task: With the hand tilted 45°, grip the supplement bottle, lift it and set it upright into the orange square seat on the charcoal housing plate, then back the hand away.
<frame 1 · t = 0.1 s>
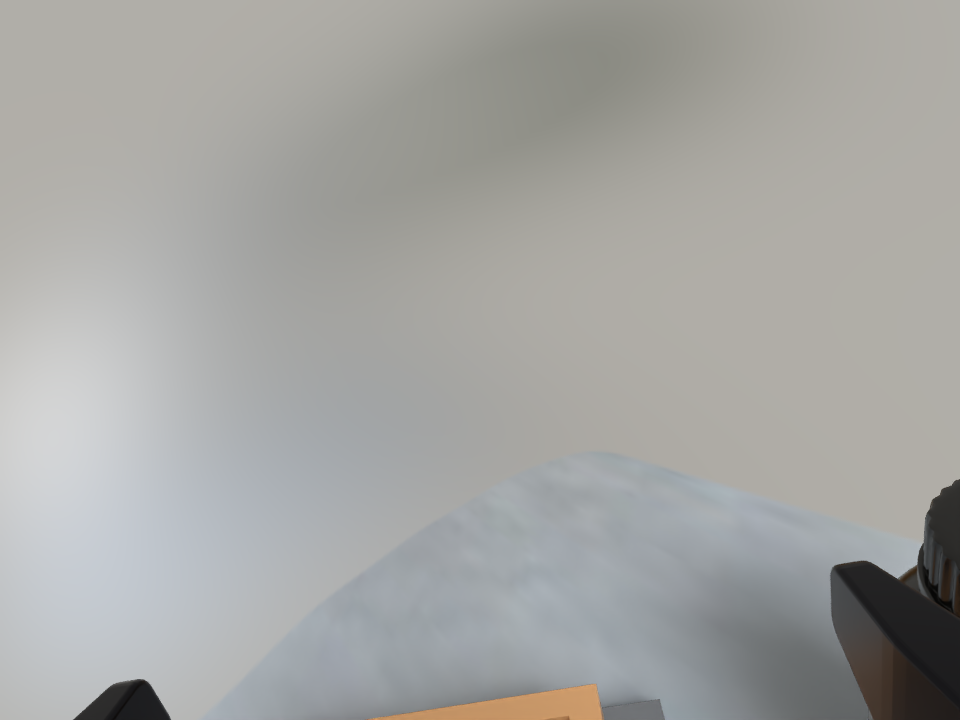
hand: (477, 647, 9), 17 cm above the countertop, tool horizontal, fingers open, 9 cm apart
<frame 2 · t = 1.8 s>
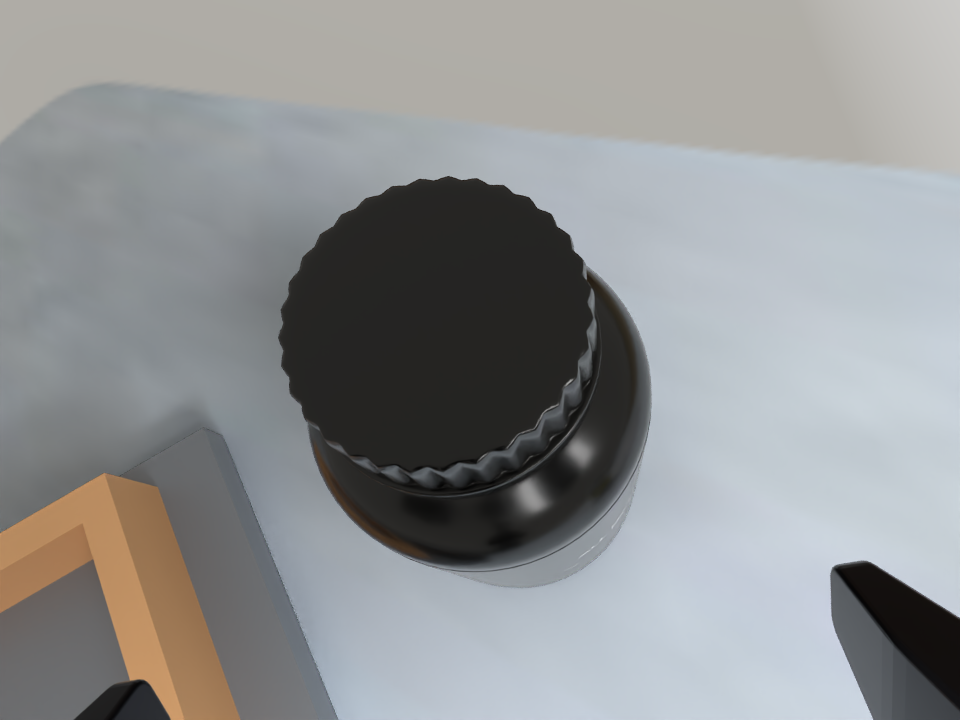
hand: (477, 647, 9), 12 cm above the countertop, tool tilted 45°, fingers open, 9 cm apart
supplement bottle: (522, 470, 22), on the countertop
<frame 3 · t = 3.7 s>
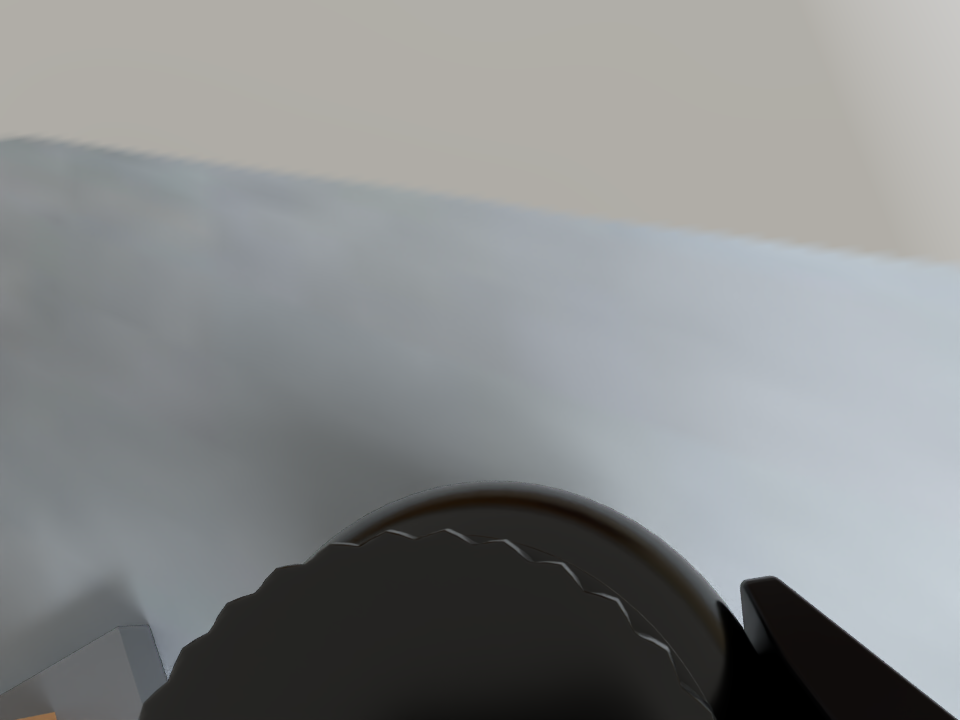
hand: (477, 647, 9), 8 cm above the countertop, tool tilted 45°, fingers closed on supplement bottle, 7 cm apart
supplement bottle: (546, 693, 16), on the countertop, touching gripper
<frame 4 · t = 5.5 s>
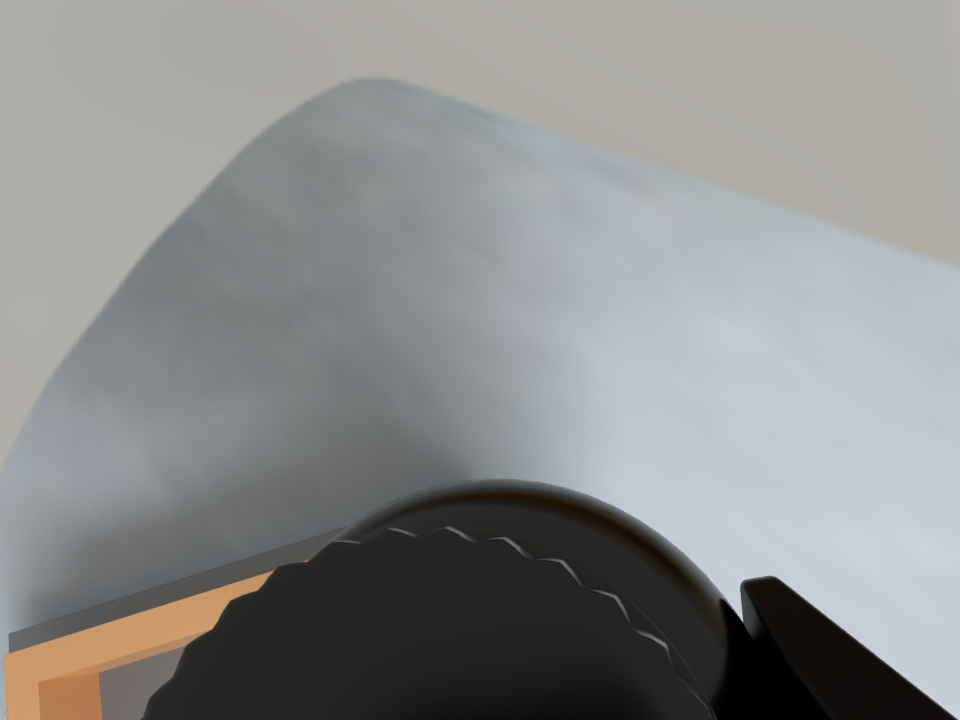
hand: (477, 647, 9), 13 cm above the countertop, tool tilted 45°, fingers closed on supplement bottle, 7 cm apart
supplement bottle: (551, 689, 16), point 5 cm above the countertop, touching gripper
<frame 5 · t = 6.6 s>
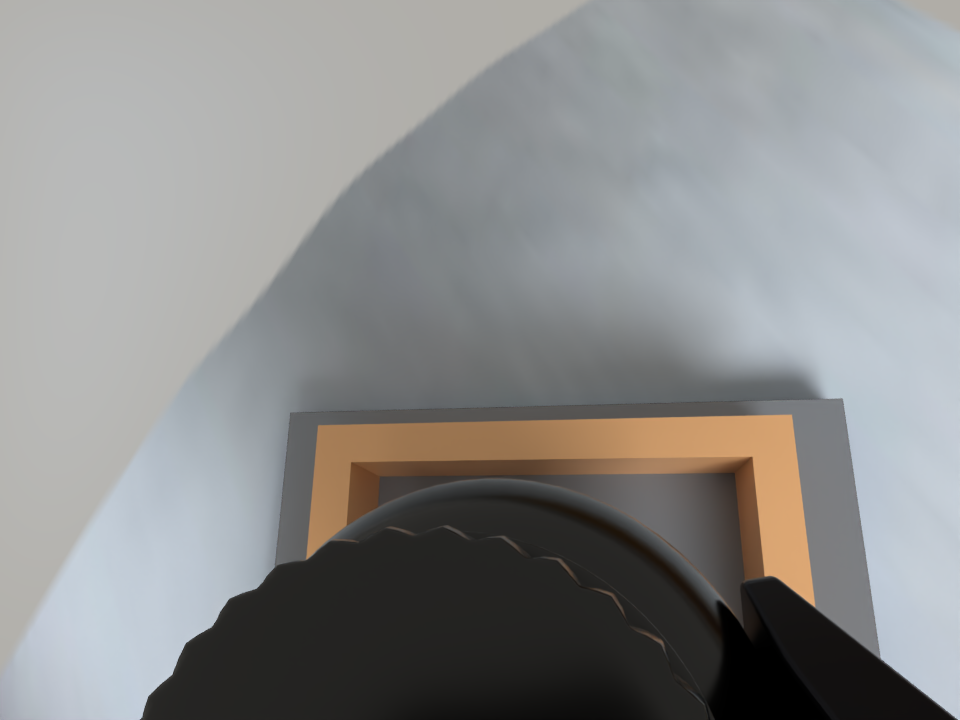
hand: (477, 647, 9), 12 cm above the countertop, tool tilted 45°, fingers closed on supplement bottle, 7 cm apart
supplement bottle: (548, 688, 16), point 4 cm above the countertop, touching gripper
when the fingers open (10 cm above the countertop, at t = 7.4 s): supplement bottle drops 1 cm, resting on housing.
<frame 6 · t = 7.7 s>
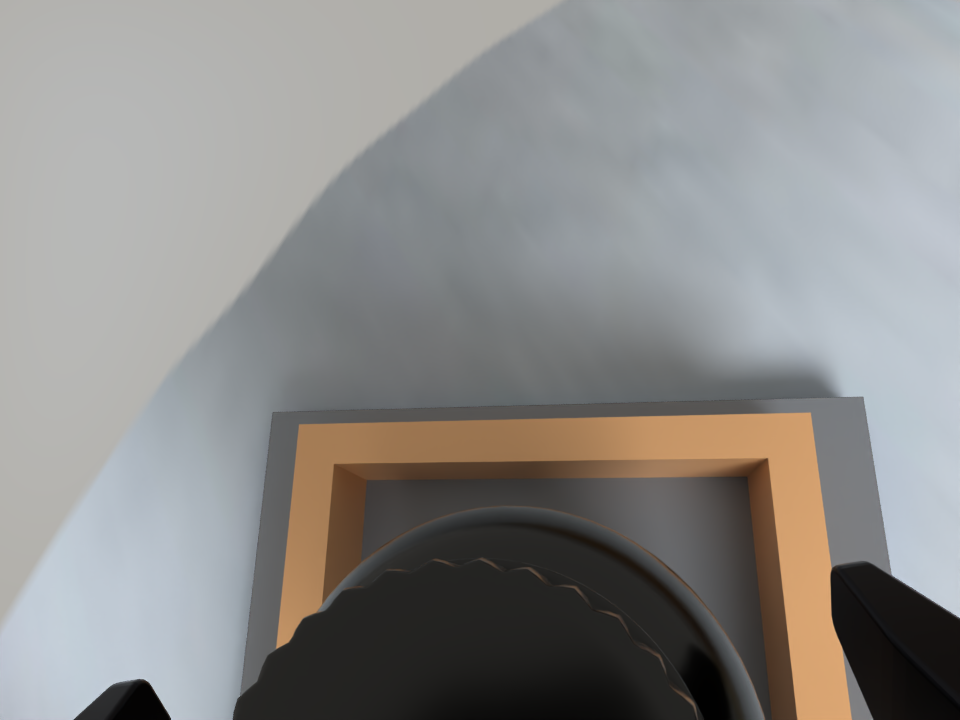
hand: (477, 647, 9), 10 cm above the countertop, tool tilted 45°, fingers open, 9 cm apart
supplement bottle: (553, 691, 17), point 1 cm above the countertop, touching housing
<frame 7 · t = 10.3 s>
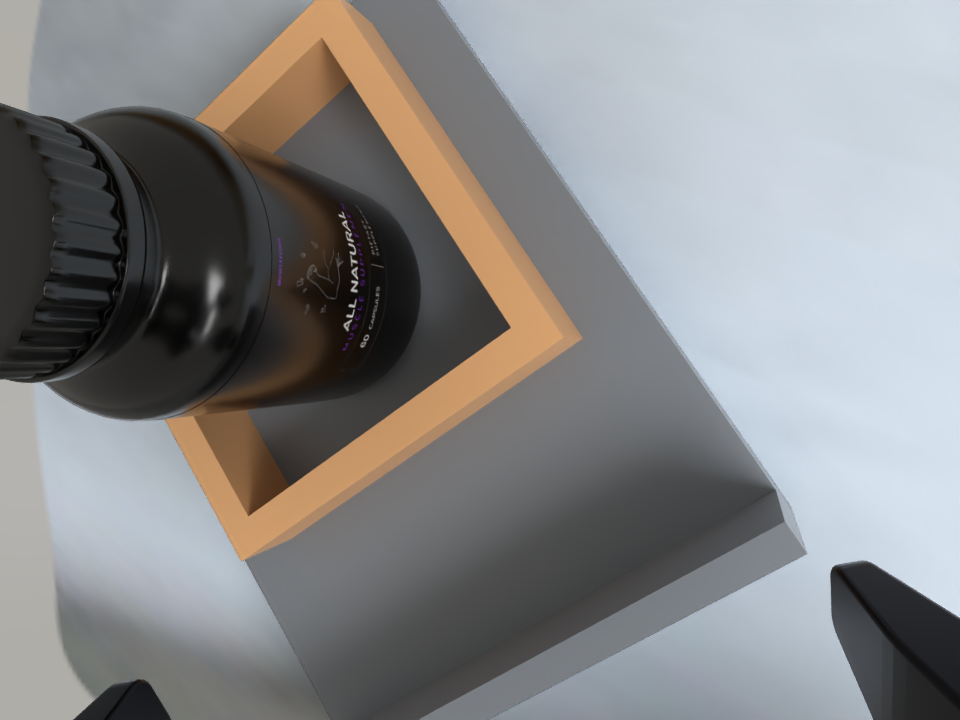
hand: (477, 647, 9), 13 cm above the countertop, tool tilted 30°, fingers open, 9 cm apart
housing: (393, 365, 24), on the countertop
supplement bottle: (335, 293, 23), point 1 cm above the countertop, touching housing
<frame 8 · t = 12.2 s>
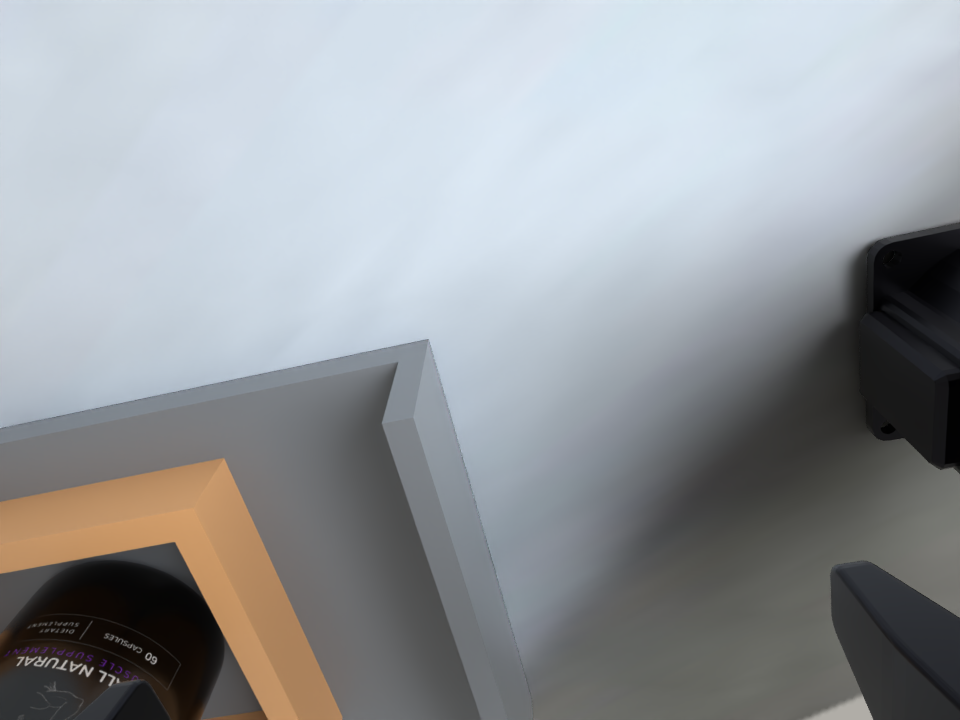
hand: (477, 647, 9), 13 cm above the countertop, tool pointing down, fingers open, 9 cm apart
housing: (220, 589, 26), on the countertop
supplement bottle: (135, 622, 25), point 1 cm above the countertop, touching housing
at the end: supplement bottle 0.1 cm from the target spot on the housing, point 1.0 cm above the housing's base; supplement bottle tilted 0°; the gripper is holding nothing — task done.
